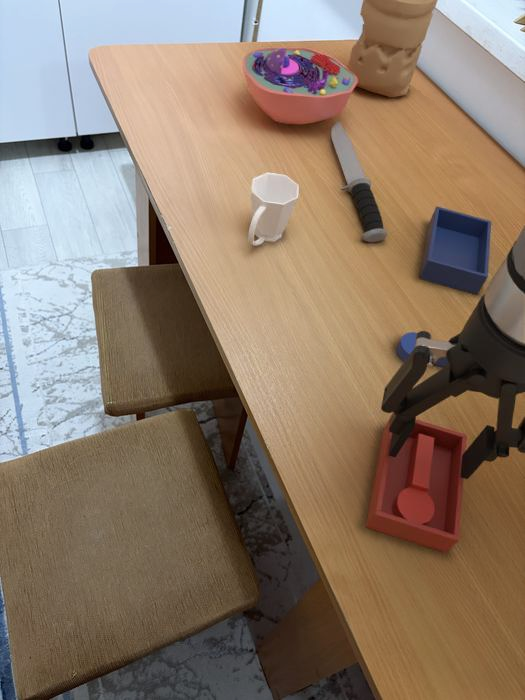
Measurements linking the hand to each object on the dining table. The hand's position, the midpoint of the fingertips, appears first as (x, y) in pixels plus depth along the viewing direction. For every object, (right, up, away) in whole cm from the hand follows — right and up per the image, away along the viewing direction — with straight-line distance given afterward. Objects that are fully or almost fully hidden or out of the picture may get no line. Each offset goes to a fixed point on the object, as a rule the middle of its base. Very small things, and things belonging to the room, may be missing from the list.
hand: (429, 456), depth 62 cm
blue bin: (+11, +25, +26) cm, 38 cm away
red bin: (-1, -4, +3) cm, 5 cm away
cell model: (-12, +54, +44) cm, 71 cm away
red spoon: (-1, -4, +2) cm, 4 cm away
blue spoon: (+5, +10, +14) cm, 18 cm away
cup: (-18, +28, +24) cm, 41 cm away
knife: (-3, +39, +34) cm, 52 cm away
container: (+5, +63, +54) cm, 83 cm away
